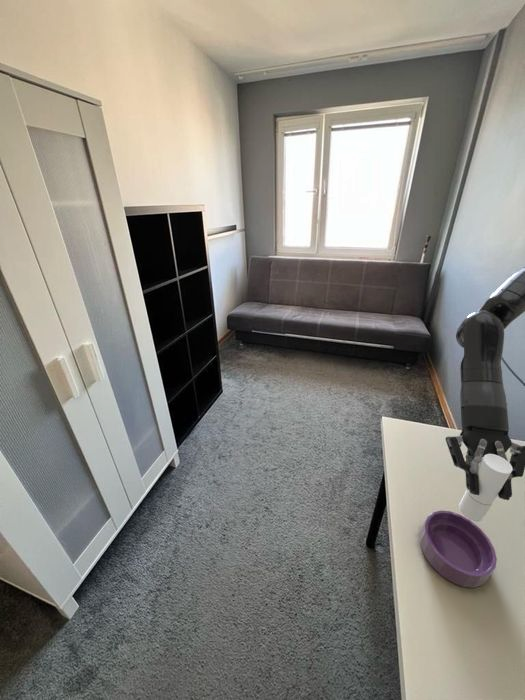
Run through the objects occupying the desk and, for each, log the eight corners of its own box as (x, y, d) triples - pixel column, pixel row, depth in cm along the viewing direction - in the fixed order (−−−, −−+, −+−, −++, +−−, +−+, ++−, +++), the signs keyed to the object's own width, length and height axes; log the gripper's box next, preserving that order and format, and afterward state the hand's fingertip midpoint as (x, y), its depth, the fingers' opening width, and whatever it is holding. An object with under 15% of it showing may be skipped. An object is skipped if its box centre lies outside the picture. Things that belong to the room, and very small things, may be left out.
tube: (479, 525, 56) (508, 477, 49) (455, 509, 59) (480, 462, 52) (486, 512, 58) (515, 464, 51) (463, 497, 61) (487, 450, 54)
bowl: (428, 512, 72) (434, 499, 69) (491, 550, 64) (500, 537, 61) (411, 555, 64) (416, 542, 61) (481, 605, 56) (491, 593, 53)
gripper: (511, 411, 59) (519, 499, 55) (437, 403, 62) (439, 486, 58) (537, 409, 52) (548, 509, 48) (452, 400, 55) (456, 493, 51)
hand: (488, 496), depth 53 cm, fingers closed on tube, 4 cm apart
